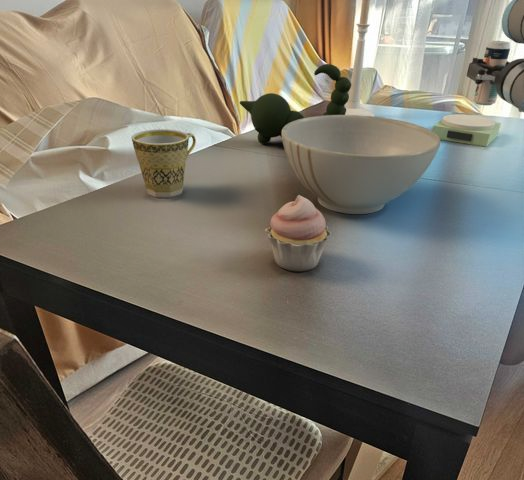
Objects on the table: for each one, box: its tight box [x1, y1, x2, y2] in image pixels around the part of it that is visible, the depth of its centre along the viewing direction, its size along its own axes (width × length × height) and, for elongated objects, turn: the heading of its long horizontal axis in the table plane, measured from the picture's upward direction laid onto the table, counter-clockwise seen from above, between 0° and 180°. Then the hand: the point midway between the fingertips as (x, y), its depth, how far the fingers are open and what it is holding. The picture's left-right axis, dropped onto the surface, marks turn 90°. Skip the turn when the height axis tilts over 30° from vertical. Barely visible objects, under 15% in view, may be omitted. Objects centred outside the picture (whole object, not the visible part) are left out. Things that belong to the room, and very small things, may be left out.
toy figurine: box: [239, 63, 352, 145], centre depth 117 cm, size 9×19×25 cm
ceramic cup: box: [131, 128, 197, 199], centre depth 93 cm, size 13×10×10 cm
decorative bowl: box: [281, 115, 441, 215], centre depth 90 cm, size 27×27×12 cm
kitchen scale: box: [431, 113, 502, 148], centre depth 132 cm, size 14×14×4 cm
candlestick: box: [344, 0, 375, 117], centre depth 139 cm, size 13×13×30 cm
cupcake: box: [264, 194, 332, 272], centre depth 71 cm, size 9×9×10 cm
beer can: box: [472, 40, 511, 106], centre depth 111 cm, size 5×5×12 cm
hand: (485, 65), depth 114 cm, fingers closed on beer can, 5 cm apart
